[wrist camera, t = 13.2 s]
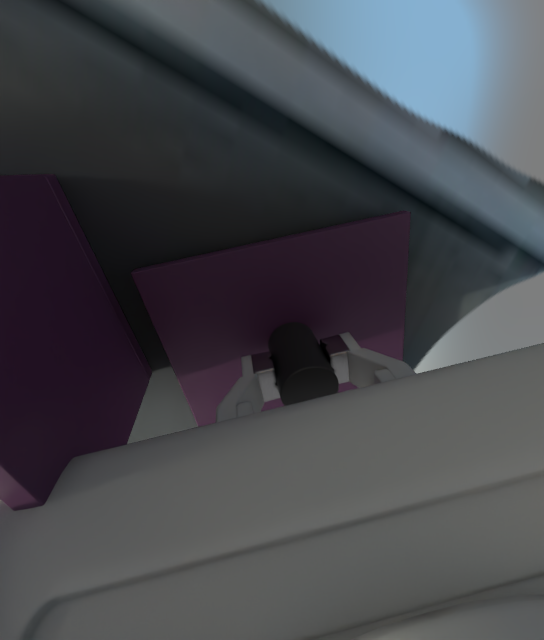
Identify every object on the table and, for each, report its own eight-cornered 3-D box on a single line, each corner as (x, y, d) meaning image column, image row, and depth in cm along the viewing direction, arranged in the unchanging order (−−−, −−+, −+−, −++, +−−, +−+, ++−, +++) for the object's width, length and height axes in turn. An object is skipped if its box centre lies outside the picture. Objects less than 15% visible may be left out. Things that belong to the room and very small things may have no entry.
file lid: (204, 430, 19) (198, 502, 15) (133, 269, 13) (93, 312, 9) (396, 383, 19) (442, 440, 15) (404, 210, 14) (477, 226, 10)
